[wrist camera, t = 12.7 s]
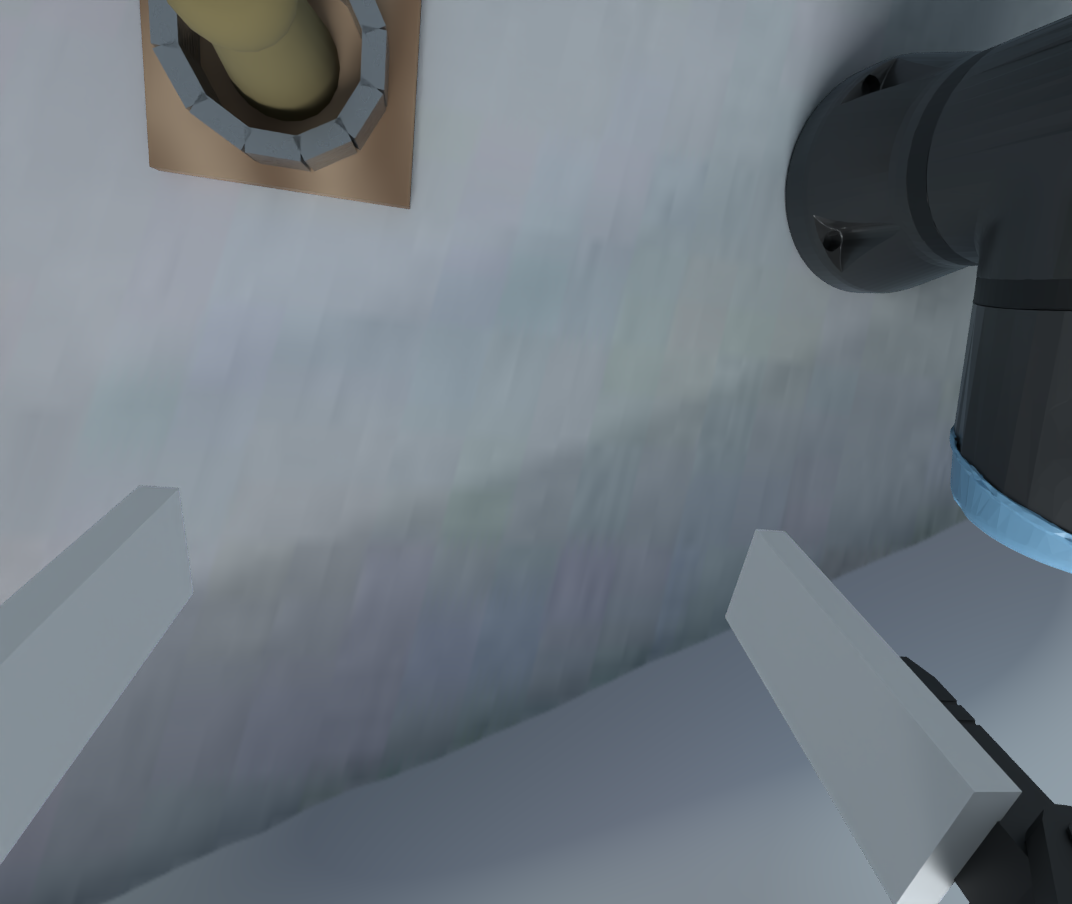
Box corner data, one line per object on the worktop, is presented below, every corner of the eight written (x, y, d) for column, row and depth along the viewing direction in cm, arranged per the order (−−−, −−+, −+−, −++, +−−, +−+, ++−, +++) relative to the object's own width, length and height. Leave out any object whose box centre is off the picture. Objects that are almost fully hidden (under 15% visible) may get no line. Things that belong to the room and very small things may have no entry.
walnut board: (423, -38, 31) (423, -50, 30) (409, 209, 35) (409, 206, 34) (143, -109, 28) (132, -125, 27) (159, 170, 32) (149, 166, 31)
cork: (238, -32, 29) (138, -205, 19) (354, 30, 31) (320, -97, 20) (208, 88, 30) (98, -12, 20) (321, 141, 32) (273, 74, 22)
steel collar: (393, -34, 30) (390, -66, 27) (383, 183, 33) (380, 174, 30) (169, -90, 28) (140, -131, 25) (179, 150, 31) (155, 137, 28)
